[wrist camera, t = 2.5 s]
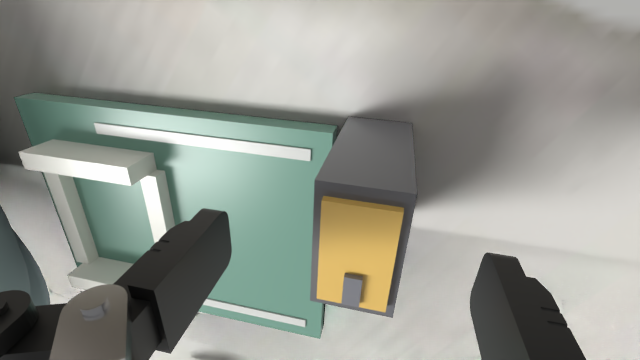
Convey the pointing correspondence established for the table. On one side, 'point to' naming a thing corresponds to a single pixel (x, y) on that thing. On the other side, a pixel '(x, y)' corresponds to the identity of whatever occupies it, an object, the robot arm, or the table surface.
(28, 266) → the pencil case
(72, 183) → the board
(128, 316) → the robot arm
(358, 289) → the switch
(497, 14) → the table surface
